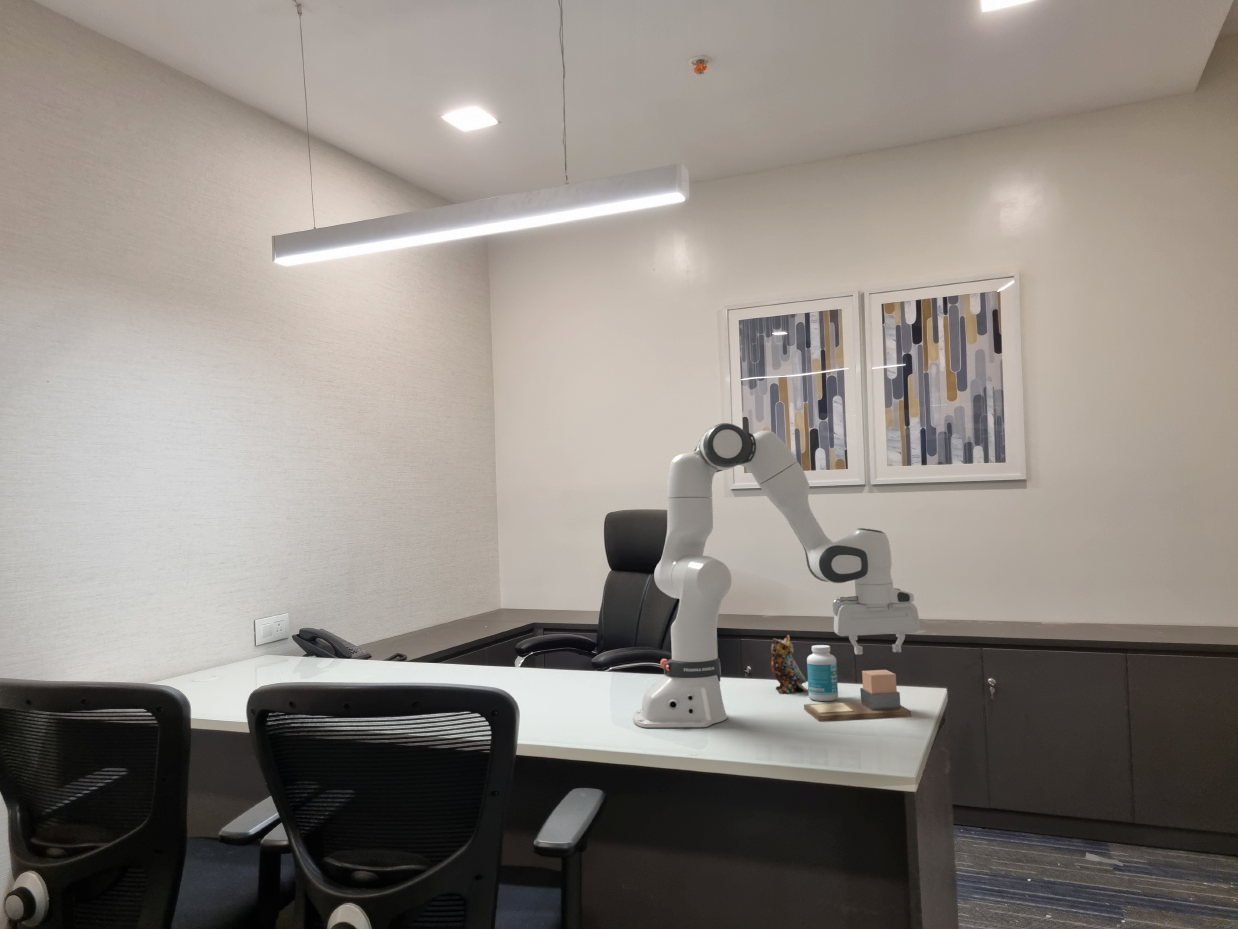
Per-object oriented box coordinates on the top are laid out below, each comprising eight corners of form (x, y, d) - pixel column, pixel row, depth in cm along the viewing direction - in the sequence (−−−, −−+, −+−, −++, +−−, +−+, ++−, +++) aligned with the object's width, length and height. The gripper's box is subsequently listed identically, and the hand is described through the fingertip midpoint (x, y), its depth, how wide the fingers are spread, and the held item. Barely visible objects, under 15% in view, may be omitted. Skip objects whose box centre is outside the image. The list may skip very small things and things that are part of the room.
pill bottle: (839, 702, 211) (836, 648, 211) (809, 702, 212) (806, 648, 213) (837, 696, 218) (834, 643, 219) (808, 695, 219) (805, 644, 220)
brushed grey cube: (871, 710, 196) (870, 683, 196) (861, 703, 203) (859, 677, 203) (900, 708, 196) (899, 681, 197) (889, 702, 203) (887, 675, 204)
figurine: (802, 695, 220) (799, 638, 221) (768, 693, 224) (766, 637, 225) (809, 689, 228) (806, 633, 228) (777, 687, 231) (774, 633, 232)
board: (818, 721, 193) (818, 714, 193) (804, 709, 205) (803, 703, 205) (911, 716, 194) (911, 709, 194) (891, 704, 206) (891, 698, 206)
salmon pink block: (872, 693, 197) (871, 675, 197) (863, 688, 203) (862, 671, 203) (896, 692, 197) (895, 674, 197) (887, 687, 203) (886, 669, 203)
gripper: (836, 598, 198) (839, 657, 197) (920, 594, 199) (924, 653, 198) (828, 596, 204) (831, 653, 203) (909, 592, 205) (913, 648, 204)
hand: (877, 653), depth 201 cm, fingers open, 8 cm apart
